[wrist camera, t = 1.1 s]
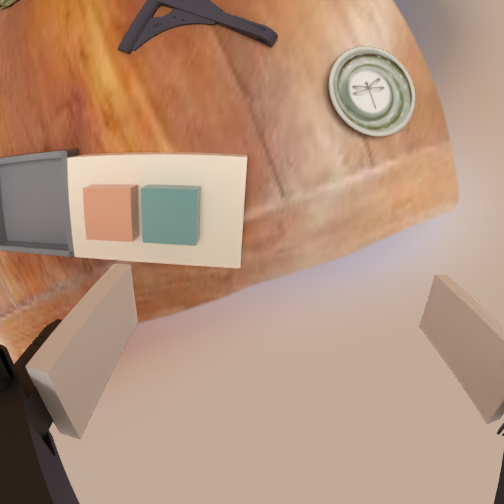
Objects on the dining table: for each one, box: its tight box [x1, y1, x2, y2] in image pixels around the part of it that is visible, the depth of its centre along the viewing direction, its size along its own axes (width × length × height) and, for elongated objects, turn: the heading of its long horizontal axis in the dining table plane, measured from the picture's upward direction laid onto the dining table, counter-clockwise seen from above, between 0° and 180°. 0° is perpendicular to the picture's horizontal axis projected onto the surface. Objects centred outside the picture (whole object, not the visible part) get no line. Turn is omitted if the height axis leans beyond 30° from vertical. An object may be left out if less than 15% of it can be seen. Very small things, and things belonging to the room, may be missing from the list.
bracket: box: [118, 0, 278, 53], centre depth 24 cm, size 14×15×3 cm
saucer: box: [328, 46, 415, 137], centre depth 27 cm, size 10×10×2 cm
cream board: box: [67, 152, 247, 268], centre depth 30 cm, size 18×11×4 cm, turn 86°
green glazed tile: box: [141, 184, 201, 246], centre depth 27 cm, size 5×5×2 cm
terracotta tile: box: [83, 184, 139, 242], centre depth 27 cm, size 5×5×2 cm
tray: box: [0, 149, 78, 257], centre depth 30 cm, size 14×12×2 cm
